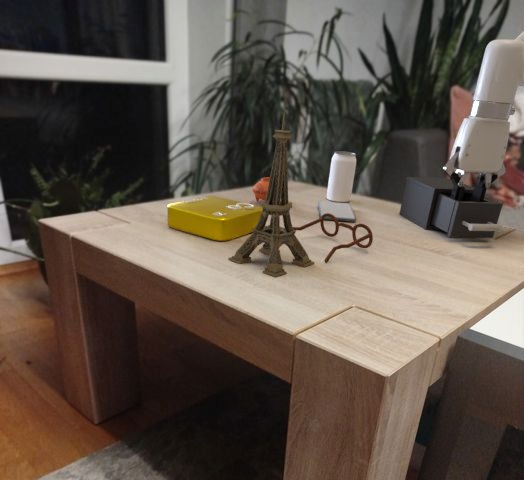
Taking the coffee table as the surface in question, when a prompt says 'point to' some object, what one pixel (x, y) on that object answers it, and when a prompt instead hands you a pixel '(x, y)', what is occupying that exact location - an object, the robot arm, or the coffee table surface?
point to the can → (341, 177)
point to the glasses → (321, 220)
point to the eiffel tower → (275, 217)
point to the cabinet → (424, 198)
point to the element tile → (214, 217)
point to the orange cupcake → (261, 189)
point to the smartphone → (337, 211)
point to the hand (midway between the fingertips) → (465, 204)
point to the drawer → (466, 216)
